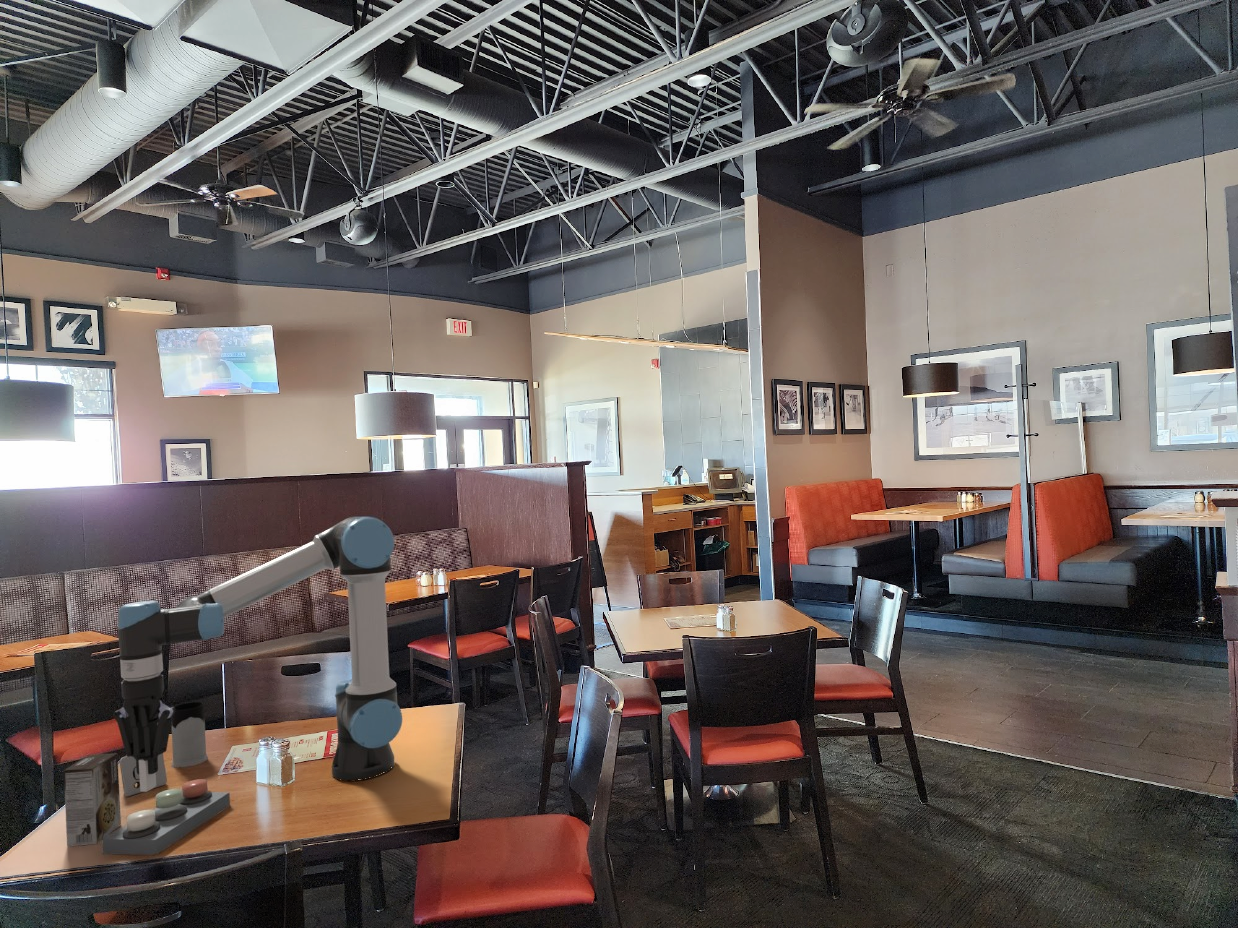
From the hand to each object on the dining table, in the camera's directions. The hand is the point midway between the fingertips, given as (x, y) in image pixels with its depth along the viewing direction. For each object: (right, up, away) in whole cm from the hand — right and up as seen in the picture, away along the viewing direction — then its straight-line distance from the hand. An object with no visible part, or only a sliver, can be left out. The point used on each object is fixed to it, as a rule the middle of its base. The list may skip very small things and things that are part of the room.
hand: (148, 788), depth 160 cm
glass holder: (-20, -13, +49) cm, 55 cm away
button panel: (+1, -11, +6) cm, 13 cm away
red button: (+2, -7, +14) cm, 16 cm away
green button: (+1, -6, +6) cm, 8 cm away
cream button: (0, -7, -2) cm, 7 cm away
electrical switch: (-20, -13, +29) cm, 37 cm away
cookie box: (-14, -12, +4) cm, 19 cm away
